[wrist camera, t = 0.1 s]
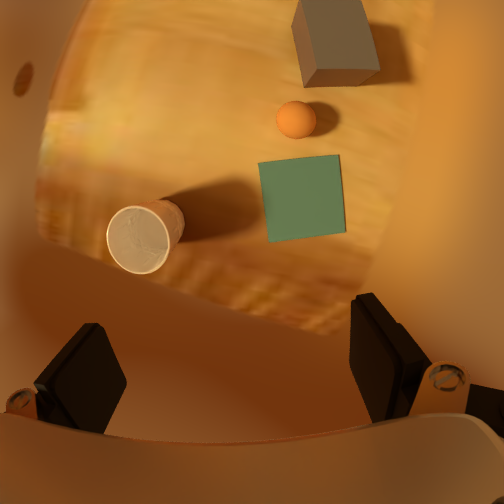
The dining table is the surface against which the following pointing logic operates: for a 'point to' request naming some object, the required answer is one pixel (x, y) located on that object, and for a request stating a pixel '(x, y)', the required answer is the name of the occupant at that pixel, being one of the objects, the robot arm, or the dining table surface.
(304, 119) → the ball
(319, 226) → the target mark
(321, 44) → the grey rectangular box
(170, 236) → the white cup
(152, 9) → the dining table surface
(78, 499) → the robot arm
